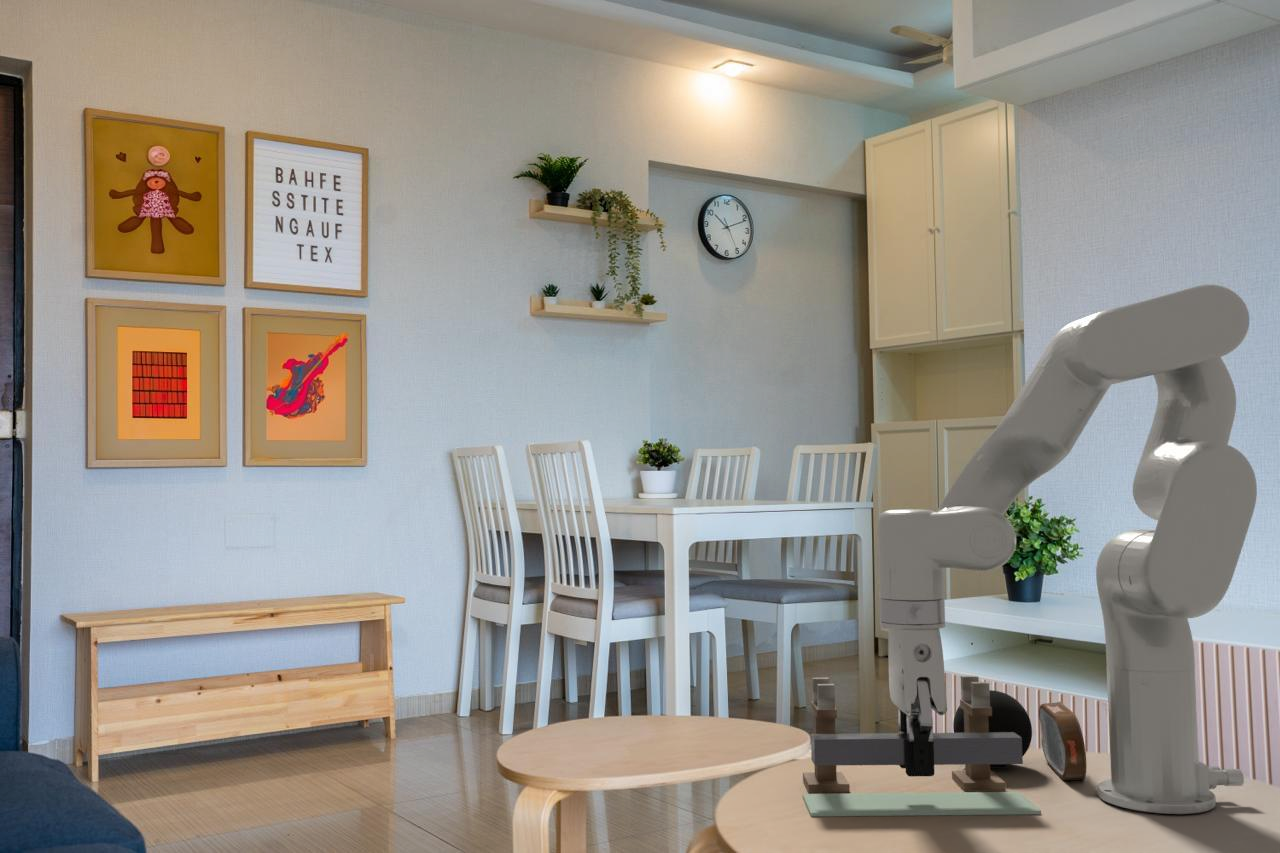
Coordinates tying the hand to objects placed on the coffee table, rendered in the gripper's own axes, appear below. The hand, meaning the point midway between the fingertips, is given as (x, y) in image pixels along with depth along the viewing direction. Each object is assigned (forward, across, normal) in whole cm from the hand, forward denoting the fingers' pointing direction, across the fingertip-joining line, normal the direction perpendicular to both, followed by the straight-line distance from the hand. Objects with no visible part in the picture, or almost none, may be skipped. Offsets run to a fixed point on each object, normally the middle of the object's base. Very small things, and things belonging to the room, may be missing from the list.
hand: (916, 770), depth 131 cm
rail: (-1, 0, 0) cm, 1 cm away
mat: (+4, 0, 0) cm, 4 cm away
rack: (+4, +9, 0) cm, 10 cm away
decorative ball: (+4, +18, -14) cm, 23 cm away
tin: (+4, +15, -22) cm, 27 cm away
